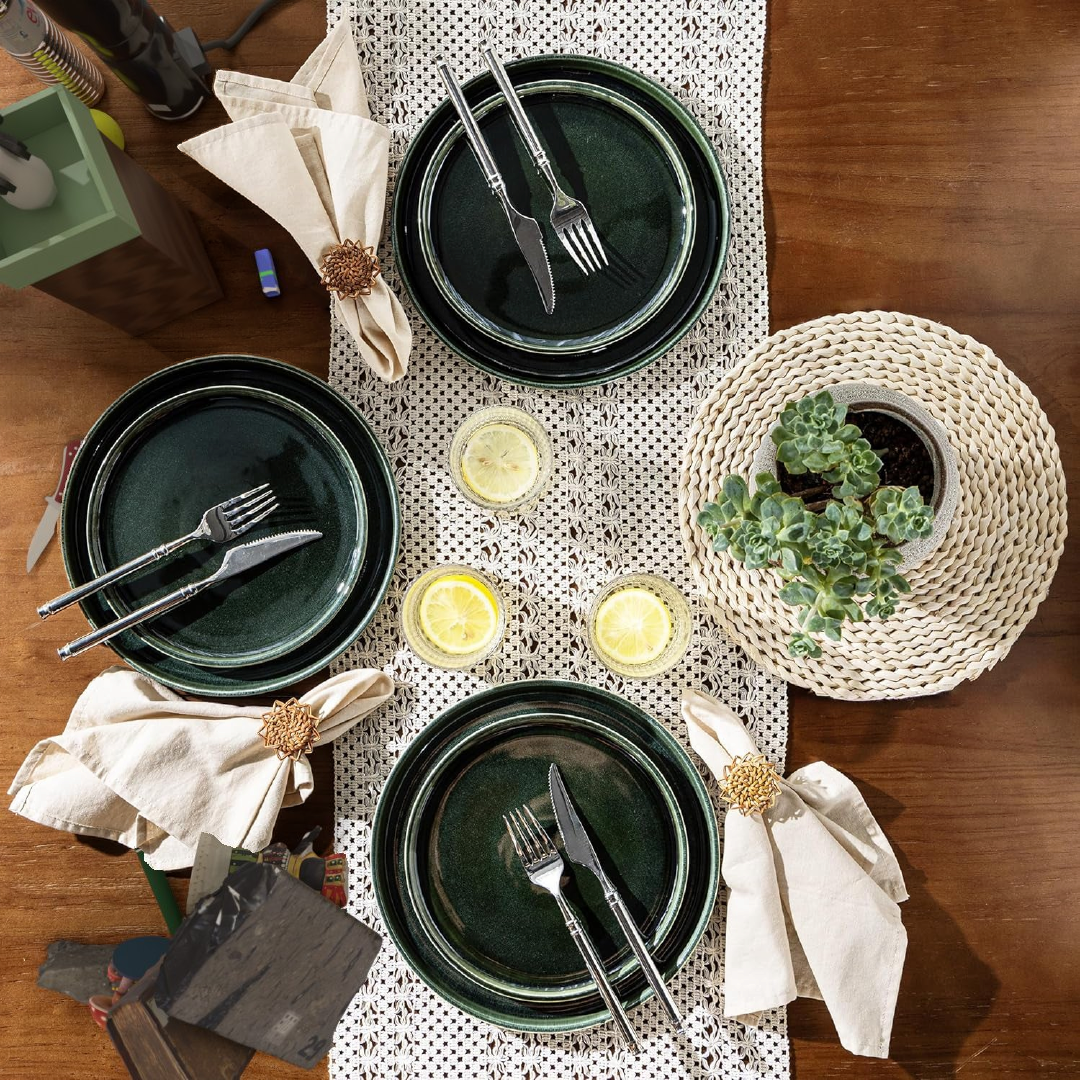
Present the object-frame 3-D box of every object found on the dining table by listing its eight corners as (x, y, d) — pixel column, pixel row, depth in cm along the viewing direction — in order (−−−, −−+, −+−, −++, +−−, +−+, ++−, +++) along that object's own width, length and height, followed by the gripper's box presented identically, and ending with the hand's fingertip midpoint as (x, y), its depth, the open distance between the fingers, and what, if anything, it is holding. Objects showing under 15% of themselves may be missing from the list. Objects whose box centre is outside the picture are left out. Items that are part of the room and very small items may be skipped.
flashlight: (165, 829, 116) (221, 960, 114) (131, 846, 115) (187, 978, 113) (152, 836, 111) (210, 974, 109) (116, 854, 110) (174, 993, 108)
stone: (35, 1012, 112) (-2, 1008, 104) (58, 942, 117) (25, 933, 108) (167, 1018, 112) (141, 1015, 104) (185, 948, 117) (162, 940, 109)
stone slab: (285, 874, 91) (414, 957, 111) (255, 828, 97) (381, 915, 117) (152, 1013, 86) (312, 1075, 105) (129, 955, 92) (284, 1024, 112)
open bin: (89, 108, 90) (60, 81, 85) (142, 234, 90) (116, 215, 85) (-36, 164, 91) (-72, 142, 86) (17, 290, 91) (-16, 275, 85)
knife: (67, 435, 113) (87, 443, 113) (72, 436, 115) (92, 444, 115) (13, 568, 114) (33, 577, 114) (18, 568, 115) (38, 576, 115)
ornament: (128, 179, 115) (86, 145, 105) (80, 169, 115) (34, 134, 105) (139, 131, 115) (98, 91, 105) (91, 121, 115) (46, 80, 105)
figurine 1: (104, 934, 107) (88, 994, 108) (96, 980, 99) (78, 1044, 99) (199, 937, 112) (183, 994, 113) (199, 980, 104) (182, 1042, 104)
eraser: (263, 292, 112) (277, 289, 112) (253, 251, 112) (267, 248, 112) (267, 297, 114) (281, 294, 114) (257, 257, 114) (271, 253, 114)
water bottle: (106, 111, 115) (-22, -10, 90) (60, 111, 115) (-82, -9, 90) (107, 63, 115) (-21, -71, 90) (60, 64, 115) (-80, -70, 90)
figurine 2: (177, 960, 100) (340, 962, 106) (196, 840, 100) (359, 848, 105) (191, 911, 112) (337, 914, 117) (208, 803, 112) (354, 812, 117)
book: (199, 911, 113) (95, 1014, 88) (244, 890, 113) (153, 987, 88) (249, 1019, 113) (159, 1153, 88) (294, 998, 113) (216, 1127, 88)
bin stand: (186, 207, 114) (85, 117, 90) (224, 296, 114) (133, 230, 90) (98, 247, 115) (-27, 168, 91) (135, 336, 115) (20, 281, 91)
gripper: (-199, 147, 78) (-38, 219, 77) (-140, 14, 77) (21, 85, 77) (-132, 182, 85) (15, 248, 85) (-78, 60, 85) (69, 125, 84)
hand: (17, 169), depth 81 cm, fingers closed on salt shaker, 3 cm apart
